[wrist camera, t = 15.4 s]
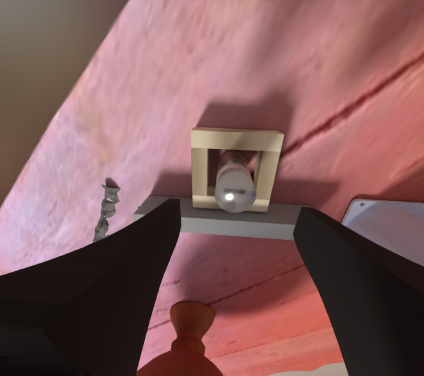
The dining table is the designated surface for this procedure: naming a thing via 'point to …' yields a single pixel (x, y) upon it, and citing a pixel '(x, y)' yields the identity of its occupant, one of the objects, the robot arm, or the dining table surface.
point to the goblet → (185, 344)
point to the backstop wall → (231, 219)
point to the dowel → (234, 183)
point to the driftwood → (106, 212)
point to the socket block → (236, 140)
